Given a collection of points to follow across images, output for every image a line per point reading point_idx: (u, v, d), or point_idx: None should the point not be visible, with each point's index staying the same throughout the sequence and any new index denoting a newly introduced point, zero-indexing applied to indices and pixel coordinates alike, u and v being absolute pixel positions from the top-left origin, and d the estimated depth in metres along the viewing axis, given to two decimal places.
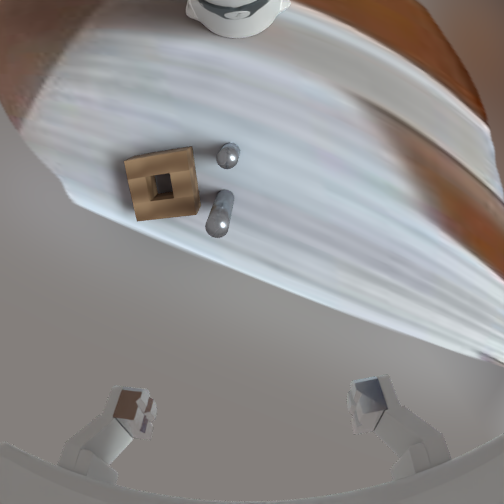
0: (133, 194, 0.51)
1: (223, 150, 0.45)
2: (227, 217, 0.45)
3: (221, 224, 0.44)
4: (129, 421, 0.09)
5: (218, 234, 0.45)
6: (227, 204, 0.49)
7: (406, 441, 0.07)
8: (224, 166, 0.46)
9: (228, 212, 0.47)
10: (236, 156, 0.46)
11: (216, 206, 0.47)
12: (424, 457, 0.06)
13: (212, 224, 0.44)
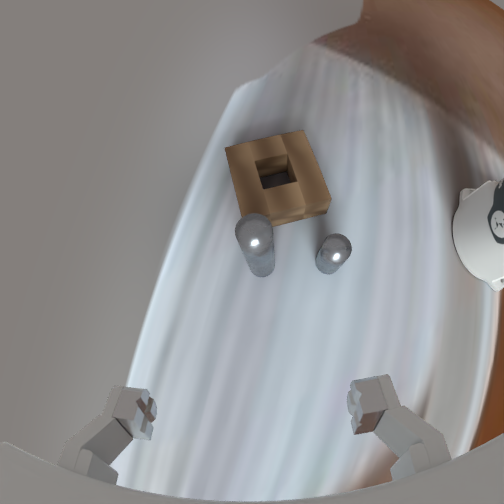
0: (261, 141, 0.40)
1: (347, 241, 0.33)
2: (266, 249, 0.28)
3: (259, 236, 0.27)
4: (130, 421, 0.09)
5: (241, 234, 0.27)
6: (272, 256, 0.33)
7: (406, 441, 0.07)
8: (326, 245, 0.34)
9: (267, 254, 0.31)
10: (342, 259, 0.33)
11: None
12: (424, 457, 0.06)
13: (257, 223, 0.27)
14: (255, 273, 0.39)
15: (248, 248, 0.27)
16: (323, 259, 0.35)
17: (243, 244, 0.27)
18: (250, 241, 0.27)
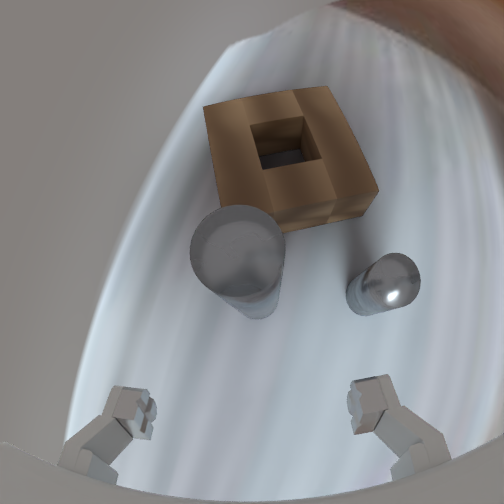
0: (262, 98, 0.24)
1: (413, 267, 0.17)
2: (267, 292, 0.12)
3: (251, 266, 0.10)
4: (130, 421, 0.09)
5: (204, 257, 0.11)
6: (276, 296, 0.16)
7: (406, 441, 0.07)
8: (378, 275, 0.17)
9: (268, 299, 0.14)
10: (406, 302, 0.16)
11: None
12: (424, 457, 0.06)
13: (247, 230, 0.11)
14: None
15: (221, 294, 0.10)
16: (368, 298, 0.18)
17: (208, 284, 0.10)
18: (226, 277, 0.10)
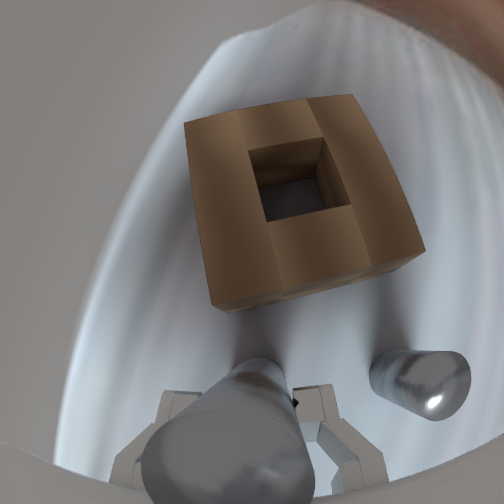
0: (265, 110, 0.18)
1: (465, 367, 0.10)
2: None
3: None
4: None
5: (168, 490, 0.04)
6: None
7: (344, 456, 0.07)
8: (423, 385, 0.11)
9: None
10: (450, 412, 0.10)
11: (291, 404, 0.09)
12: (357, 476, 0.06)
13: (242, 459, 0.04)
14: None
15: None
16: (404, 403, 0.12)
17: None
18: None
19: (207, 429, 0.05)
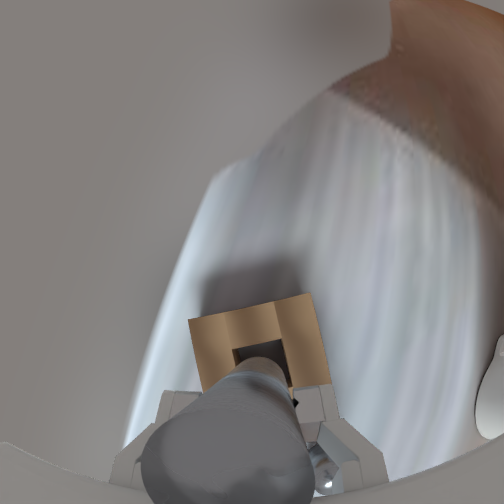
0: (243, 313, 0.27)
1: None
2: None
3: None
4: None
5: (168, 490, 0.04)
6: None
7: (344, 456, 0.07)
8: (318, 480, 0.20)
9: None
10: None
11: (292, 403, 0.09)
12: (357, 476, 0.06)
13: (242, 458, 0.04)
14: None
15: None
16: None
17: None
18: None
19: (207, 428, 0.05)
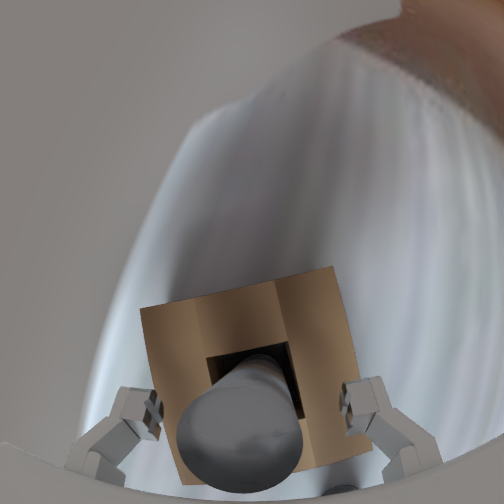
0: (225, 300, 0.17)
1: None
2: None
3: (257, 464, 0.06)
4: (138, 422, 0.09)
5: (196, 451, 0.07)
6: None
7: (397, 444, 0.07)
8: None
9: None
10: None
11: (288, 390, 0.11)
12: (415, 460, 0.06)
13: (251, 422, 0.07)
14: None
15: None
16: None
17: (204, 478, 0.06)
18: (226, 474, 0.06)
19: (227, 400, 0.07)
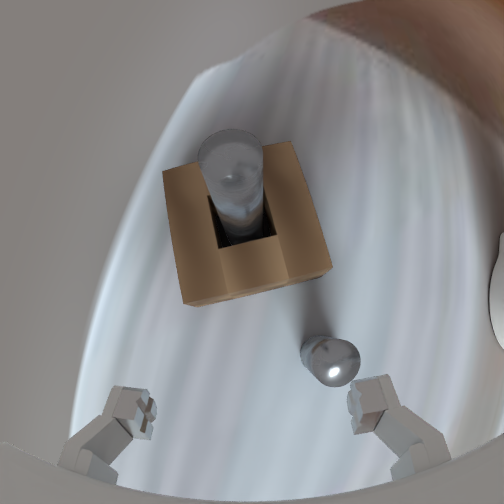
0: None
1: (354, 351, 0.19)
2: (251, 189, 0.16)
3: (240, 164, 0.15)
4: (130, 421, 0.09)
5: (208, 160, 0.15)
6: (260, 211, 0.21)
7: (406, 441, 0.07)
8: (319, 360, 0.19)
9: (253, 204, 0.18)
10: (344, 382, 0.18)
11: None
12: (424, 457, 0.06)
13: (237, 143, 0.15)
14: (234, 243, 0.27)
15: (219, 183, 0.15)
16: (312, 373, 0.20)
17: (210, 176, 0.15)
18: (223, 171, 0.15)
19: (225, 135, 0.15)
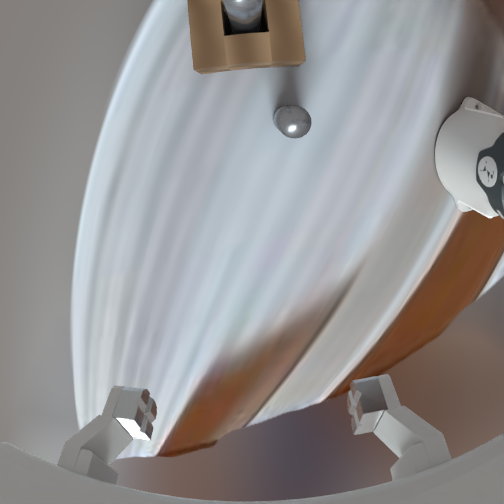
0: None
1: (307, 117, 0.27)
2: (252, 5, 0.18)
3: None
4: (130, 421, 0.09)
5: None
6: (257, 16, 0.21)
7: (406, 441, 0.07)
8: (282, 116, 0.27)
9: (253, 12, 0.19)
10: (297, 136, 0.28)
11: None
12: (424, 457, 0.06)
13: None
14: (236, 33, 0.27)
15: (231, 1, 0.16)
16: (277, 126, 0.29)
17: None
18: None
19: None
